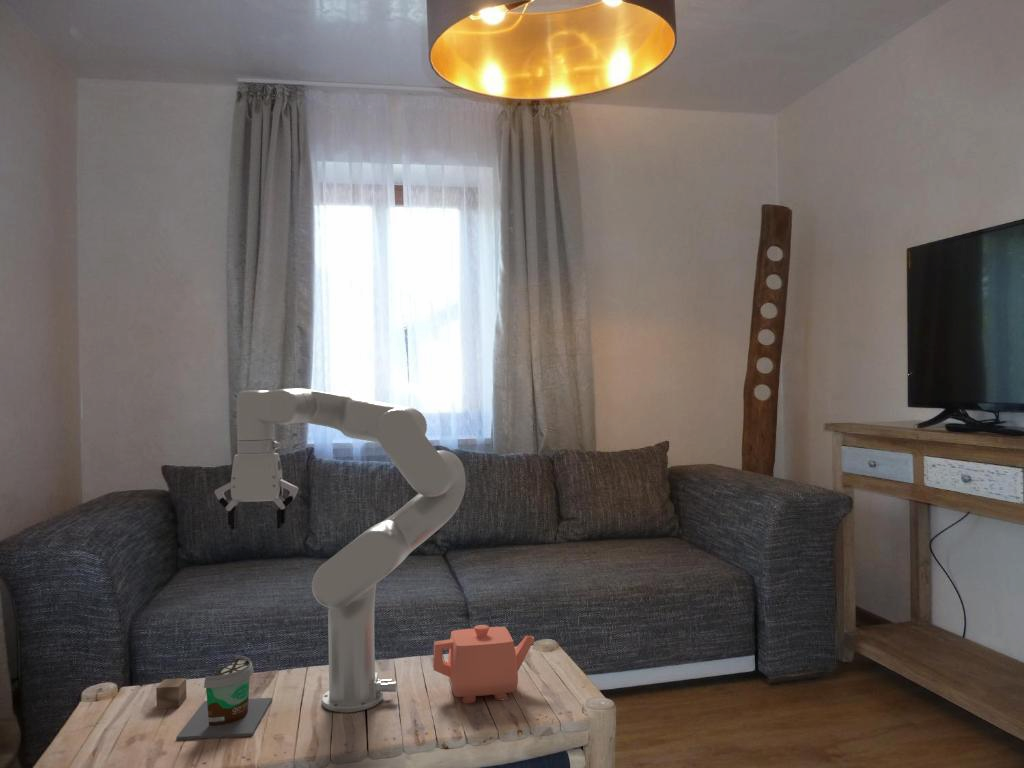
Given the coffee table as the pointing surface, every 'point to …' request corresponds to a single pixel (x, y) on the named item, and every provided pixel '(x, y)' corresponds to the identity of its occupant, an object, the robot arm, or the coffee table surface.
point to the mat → (240, 728)
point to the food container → (229, 692)
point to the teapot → (481, 661)
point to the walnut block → (171, 693)
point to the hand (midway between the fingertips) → (257, 527)
